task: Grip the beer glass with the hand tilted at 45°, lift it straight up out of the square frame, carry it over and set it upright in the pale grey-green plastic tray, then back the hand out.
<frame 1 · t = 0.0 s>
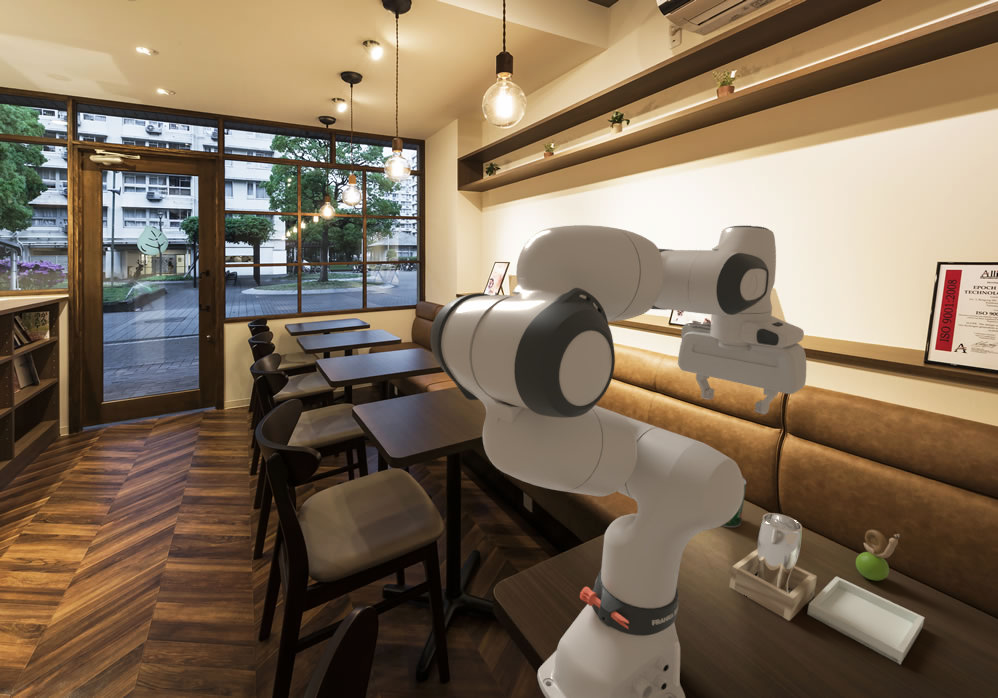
hand: (733, 405, 82), 39 cm above the table, tool pointing down, fingers open, 8 cm apart
square frame: (770, 591, 93), on the table
snail figurine: (871, 580, 98), on the table
canned tomato: (723, 519, 120), on the table
beer glass: (770, 592, 93), resting in square frame
tray: (863, 621, 86), on the table
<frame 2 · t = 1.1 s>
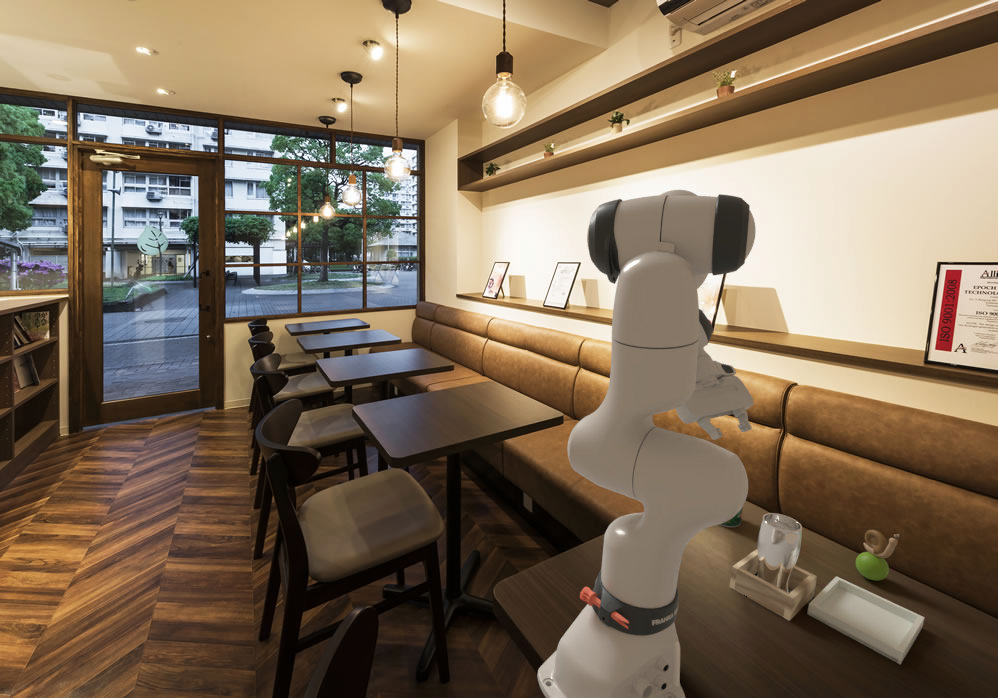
hand: (733, 434, 98), 28 cm above the table, tool tilted 45°, fingers open, 8 cm apart
nothing on the table moved.
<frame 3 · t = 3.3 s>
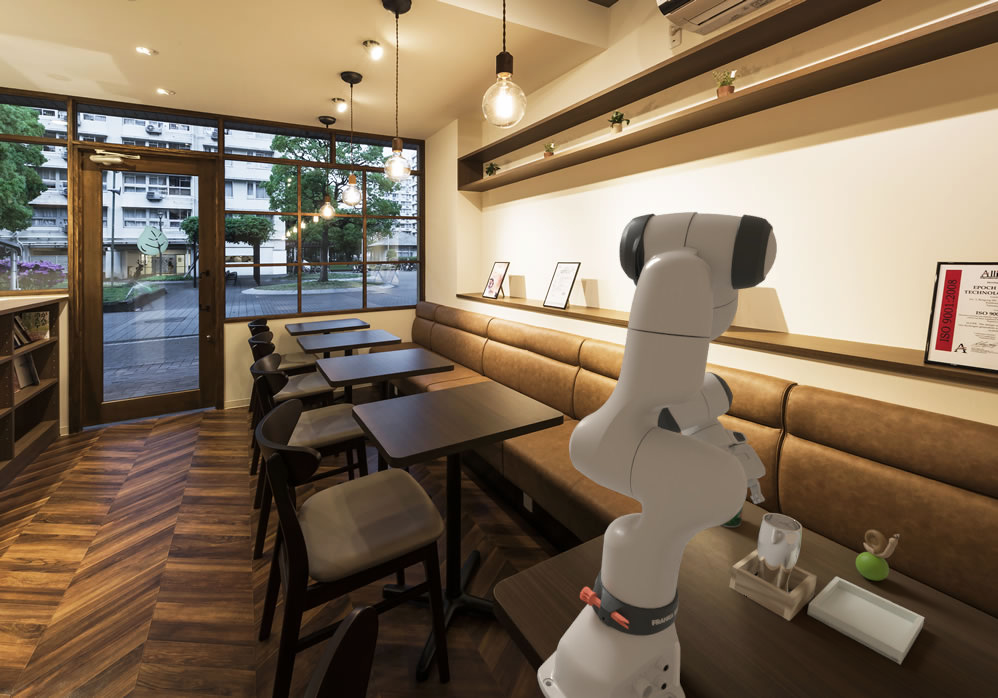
hand: (746, 507, 97), 14 cm above the table, tool tilted 45°, fingers open, 8 cm apart
nothing on the table moved.
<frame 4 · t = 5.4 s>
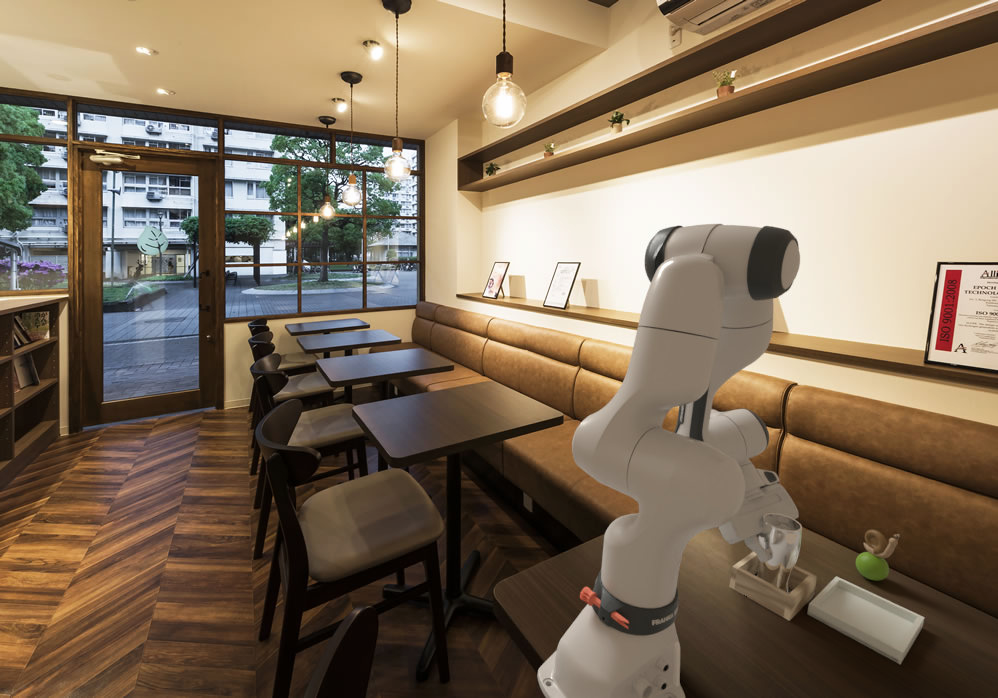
hand: (780, 554, 91), 8 cm above the table, tool tilted 45°, fingers closed on beer glass, 7 cm apart
beer glass: (770, 592, 93), resting in square frame, touching gripper
everything else where it was.
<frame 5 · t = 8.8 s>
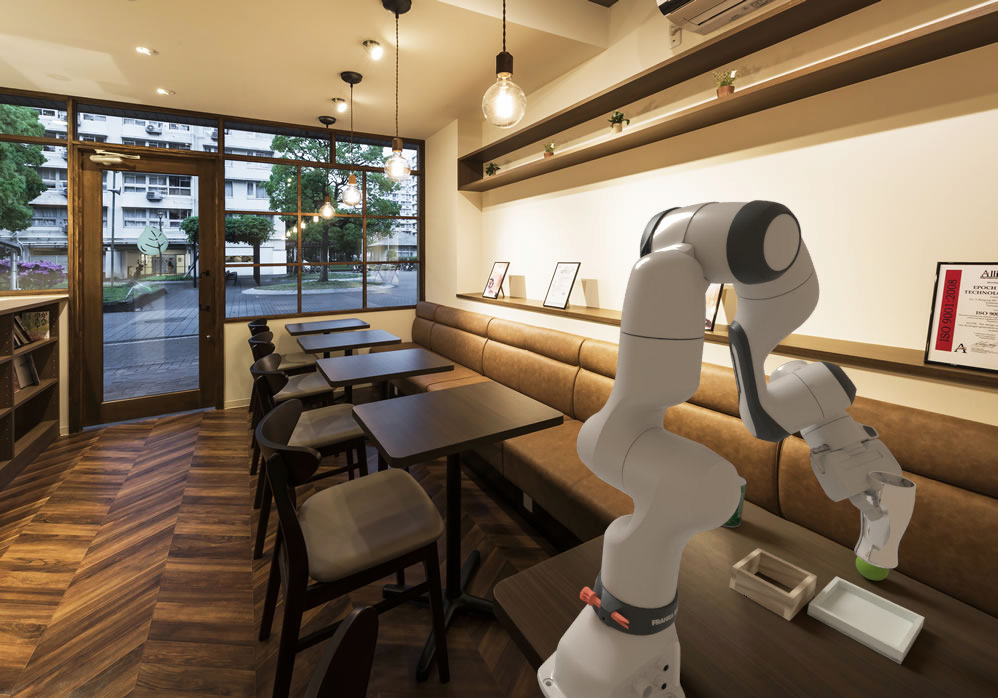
hand: (889, 514, 82), 21 cm above the table, tool tilted 45°, fingers closed on beer glass, 7 cm apart
beer glass: (875, 558, 84), point 12 cm above the table, touching gripper
everything else where it was.
when the fingers open (10 cm above the table, at t = 12.4 s): beer glass stays where it is, resting on tray.
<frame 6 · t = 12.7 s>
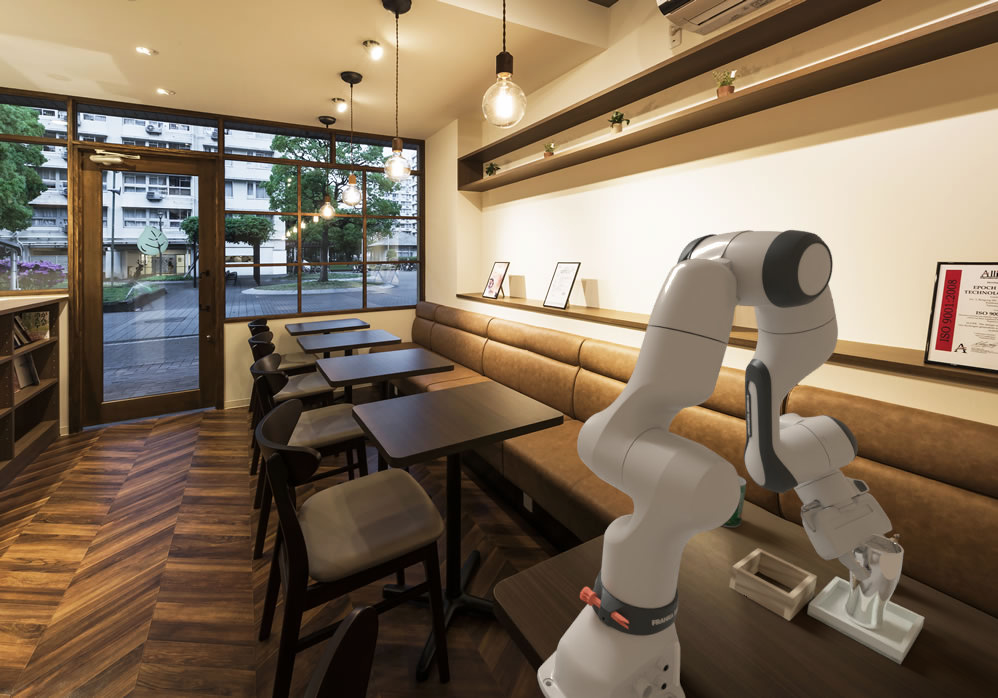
hand: (878, 571, 84), 10 cm above the table, tool tilted 45°, fingers open, 8 cm apart
beer glass: (863, 618, 86), resting on tray
everything else where it was.
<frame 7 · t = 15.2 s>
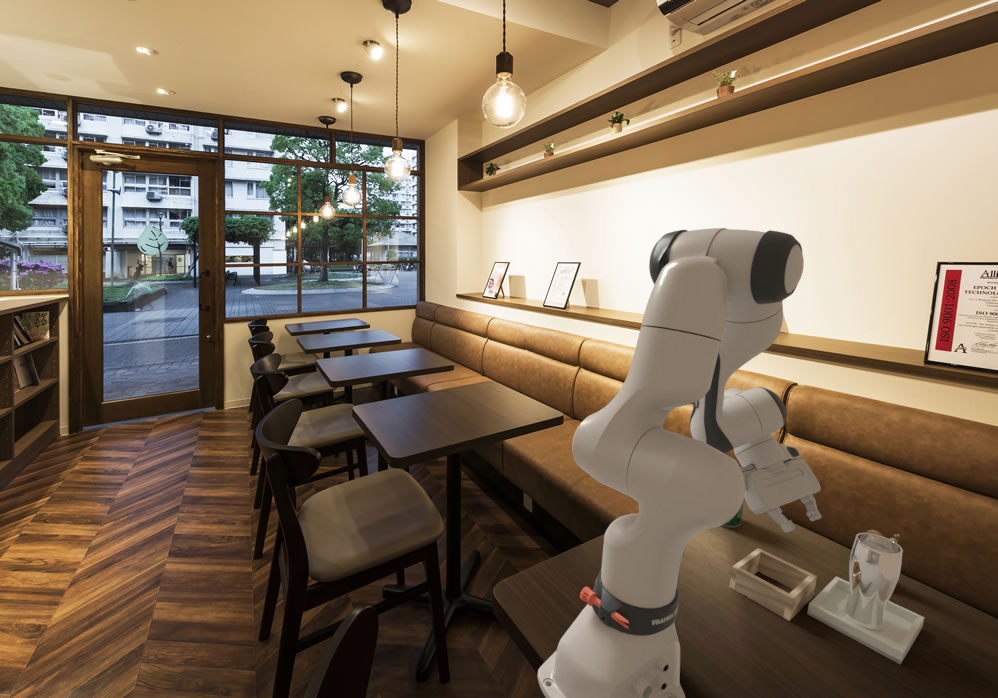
hand: (804, 525, 94), 12 cm above the table, tool tilted 45°, fingers open, 8 cm apart
nothing on the table moved.
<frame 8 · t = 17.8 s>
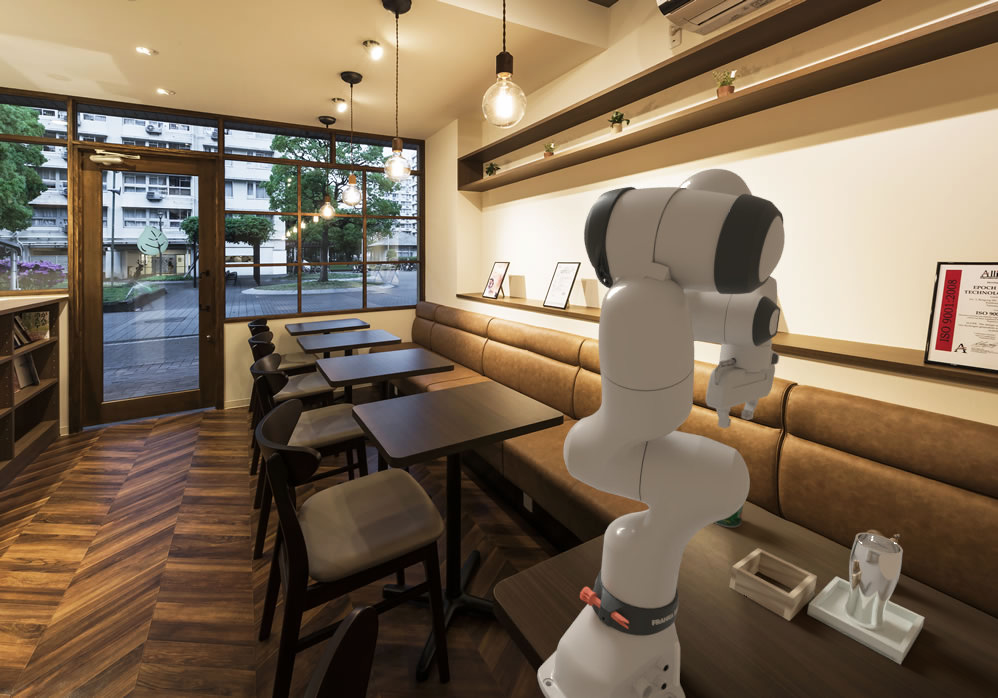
hand: (735, 422, 97), 31 cm above the table, tool pointing down, fingers open, 8 cm apart
nothing on the table moved.
at the end: beer glass inside the target area on the tray (0.1 cm from its centre), point 0.4 cm above the tray's base; beer glass tilted 0°; the gripper is holding nothing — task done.
